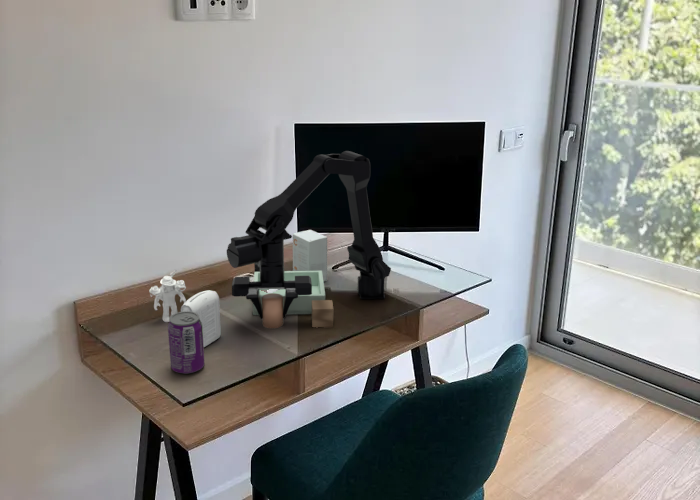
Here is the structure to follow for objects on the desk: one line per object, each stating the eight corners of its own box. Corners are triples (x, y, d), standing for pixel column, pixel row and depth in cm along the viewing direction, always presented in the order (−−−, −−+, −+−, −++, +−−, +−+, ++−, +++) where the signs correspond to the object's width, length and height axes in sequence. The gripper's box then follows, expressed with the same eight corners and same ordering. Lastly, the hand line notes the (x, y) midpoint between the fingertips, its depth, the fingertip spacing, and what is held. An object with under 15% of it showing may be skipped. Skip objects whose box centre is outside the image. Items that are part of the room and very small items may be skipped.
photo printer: (209, 332, 173) (206, 284, 168) (223, 336, 171) (221, 288, 166) (180, 350, 164) (176, 300, 160) (195, 355, 162) (191, 304, 158)
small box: (327, 281, 202) (328, 236, 197) (309, 286, 198) (309, 241, 194) (310, 271, 208) (310, 228, 203) (292, 277, 204) (291, 233, 200)
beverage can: (210, 363, 159) (208, 313, 155) (193, 378, 153) (190, 327, 148) (182, 357, 161) (178, 308, 157) (164, 372, 155) (160, 321, 151)
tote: (321, 287, 198) (321, 270, 196) (325, 313, 183) (325, 295, 181) (255, 288, 196) (254, 271, 194) (252, 315, 181) (252, 296, 180)
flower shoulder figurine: (184, 311, 183) (181, 266, 178) (191, 316, 180) (188, 272, 175) (149, 320, 178) (145, 274, 173) (156, 326, 175) (152, 280, 170)
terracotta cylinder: (283, 319, 180) (282, 293, 177) (283, 328, 175) (282, 301, 173) (262, 319, 179) (262, 293, 177) (262, 328, 175) (261, 302, 172)
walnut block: (331, 318, 181) (332, 300, 179) (333, 327, 176) (333, 308, 174) (311, 318, 180) (311, 300, 179) (312, 328, 176) (312, 309, 174)
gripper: (310, 245, 179) (310, 303, 185) (233, 246, 178) (235, 304, 183) (311, 262, 169) (311, 323, 175) (230, 263, 167) (233, 324, 173)
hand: (272, 318), depth 177 cm, fingers closed on terracotta cylinder, 5 cm apart
